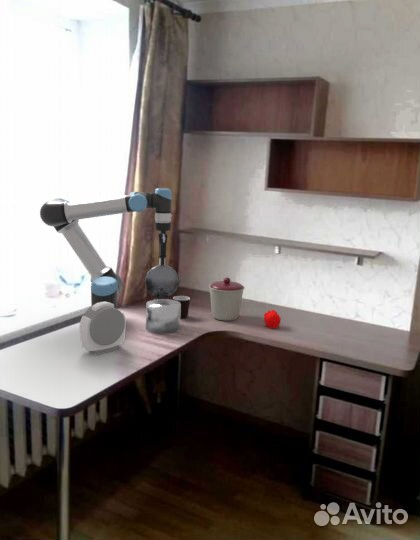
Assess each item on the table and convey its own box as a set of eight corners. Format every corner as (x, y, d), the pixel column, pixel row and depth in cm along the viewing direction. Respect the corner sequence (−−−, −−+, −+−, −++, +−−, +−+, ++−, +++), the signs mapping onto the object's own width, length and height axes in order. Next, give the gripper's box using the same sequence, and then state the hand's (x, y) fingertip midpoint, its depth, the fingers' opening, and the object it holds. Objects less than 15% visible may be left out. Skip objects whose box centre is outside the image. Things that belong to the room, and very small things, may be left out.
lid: (145, 265, 237) (145, 264, 240) (145, 298, 241) (144, 296, 243) (179, 265, 240) (178, 264, 243) (178, 297, 244) (177, 296, 247)
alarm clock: (116, 342, 216) (116, 297, 212) (127, 348, 210) (127, 301, 206) (78, 352, 204) (77, 304, 200) (89, 358, 198) (88, 309, 194)
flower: (263, 319, 240) (261, 313, 247) (268, 333, 242) (266, 327, 249) (278, 313, 239) (276, 307, 247) (284, 327, 241) (281, 321, 249)
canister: (208, 311, 266) (209, 272, 261) (242, 313, 265) (244, 274, 261) (206, 322, 248) (208, 280, 244) (243, 324, 248) (245, 282, 243)
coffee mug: (189, 320, 251) (189, 300, 248) (171, 319, 251) (172, 300, 249) (190, 313, 262) (191, 294, 260) (173, 312, 262) (174, 294, 260)
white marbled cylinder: (147, 334, 228) (147, 308, 225) (144, 322, 245) (145, 298, 242) (182, 333, 231) (182, 308, 228) (177, 321, 248) (178, 297, 245)
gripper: (172, 223, 231) (171, 273, 236) (169, 220, 243) (168, 268, 248) (156, 223, 229) (155, 273, 234) (153, 220, 242) (153, 268, 247)
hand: (162, 270), depth 241 cm, fingers closed
